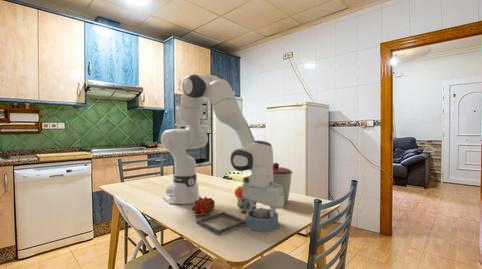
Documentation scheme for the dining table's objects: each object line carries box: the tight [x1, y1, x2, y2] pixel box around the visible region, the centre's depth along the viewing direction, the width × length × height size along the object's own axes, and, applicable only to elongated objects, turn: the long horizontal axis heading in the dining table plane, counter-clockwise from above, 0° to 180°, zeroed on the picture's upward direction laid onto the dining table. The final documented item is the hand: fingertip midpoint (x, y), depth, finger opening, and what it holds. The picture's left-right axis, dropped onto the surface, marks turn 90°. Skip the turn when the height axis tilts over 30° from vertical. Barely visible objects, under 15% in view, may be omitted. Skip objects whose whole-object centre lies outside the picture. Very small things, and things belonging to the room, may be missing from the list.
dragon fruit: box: [191, 196, 216, 217], centre depth 111 cm, size 8×8×12 cm
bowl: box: [245, 208, 279, 232], centre depth 100 cm, size 13×13×4 cm
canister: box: [272, 162, 294, 204], centre depth 130 cm, size 18×18×21 cm
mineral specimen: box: [236, 198, 258, 213], centre depth 117 cm, size 10×8×10 cm
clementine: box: [234, 185, 243, 200], centre depth 135 cm, size 8×7×7 cm
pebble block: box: [253, 207, 271, 219], centre depth 100 cm, size 5×5×5 cm
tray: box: [196, 211, 246, 236], centre depth 100 cm, size 14×14×2 cm
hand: (261, 213), depth 100 cm, fingers open, 8 cm apart
